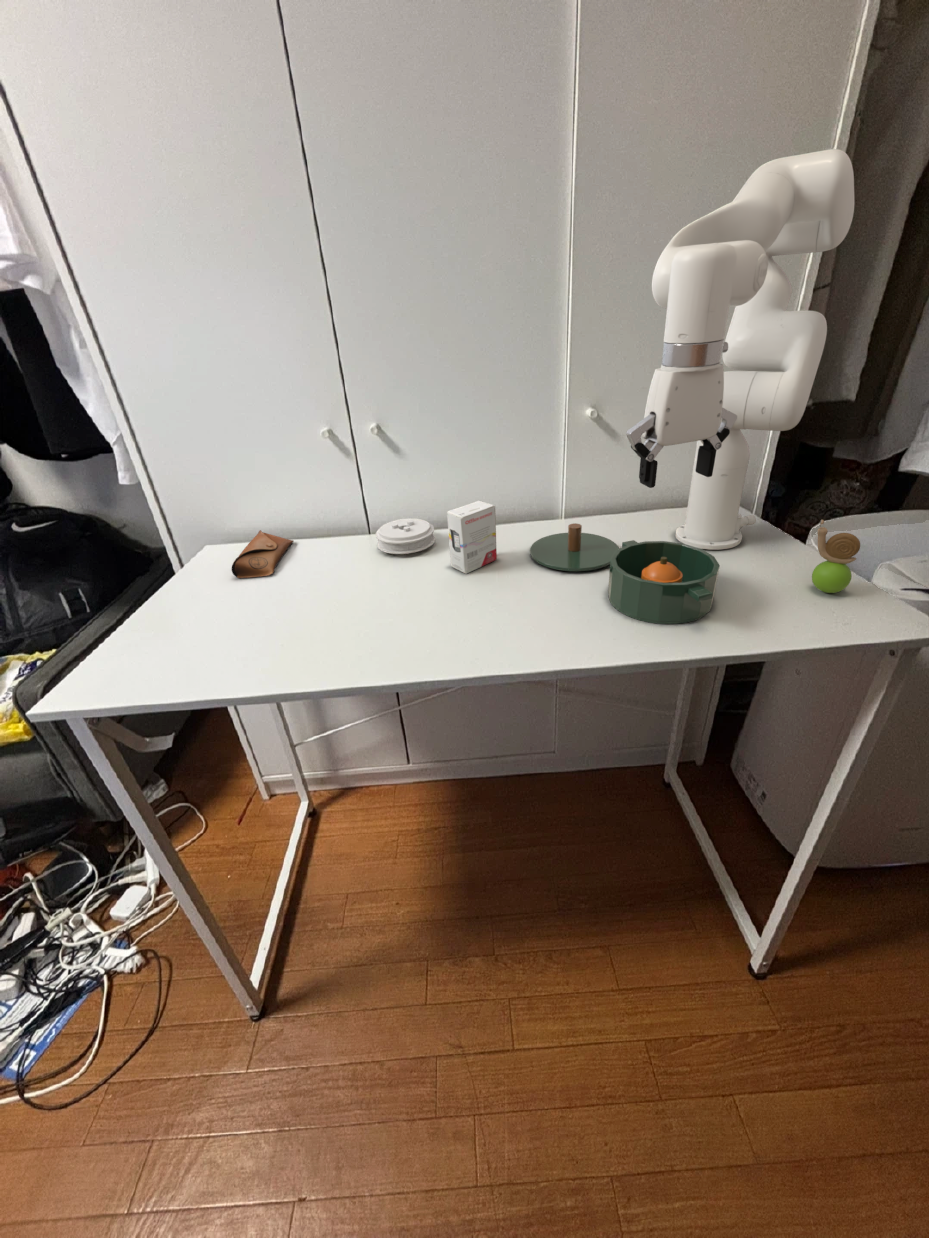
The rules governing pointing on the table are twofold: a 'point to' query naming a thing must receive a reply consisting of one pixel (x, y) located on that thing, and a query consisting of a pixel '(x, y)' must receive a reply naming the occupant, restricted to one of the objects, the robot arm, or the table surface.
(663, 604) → the crock
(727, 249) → the robot arm
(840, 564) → the snail figurine
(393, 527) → the white flat cylinder
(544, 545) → the crock lid
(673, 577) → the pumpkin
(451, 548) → the ink box
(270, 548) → the sunglasses case
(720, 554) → the table surface
